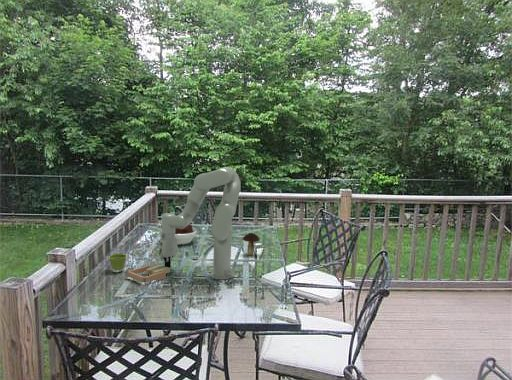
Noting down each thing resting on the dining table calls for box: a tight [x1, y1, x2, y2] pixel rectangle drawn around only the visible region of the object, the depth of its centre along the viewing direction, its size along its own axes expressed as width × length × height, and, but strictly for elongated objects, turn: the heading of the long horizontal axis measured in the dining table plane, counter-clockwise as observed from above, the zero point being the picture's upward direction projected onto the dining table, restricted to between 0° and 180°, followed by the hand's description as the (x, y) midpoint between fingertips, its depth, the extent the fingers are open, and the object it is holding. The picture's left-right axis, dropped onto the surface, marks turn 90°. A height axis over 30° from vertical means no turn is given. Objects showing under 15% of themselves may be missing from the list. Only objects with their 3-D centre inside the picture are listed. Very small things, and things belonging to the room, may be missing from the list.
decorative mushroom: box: [242, 232, 260, 256], centre depth 265 cm, size 11×11×15 cm
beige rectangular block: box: [146, 264, 172, 275], centre depth 223 cm, size 8×11×4 cm
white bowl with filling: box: [159, 223, 198, 246], centre depth 287 cm, size 25×25×15 cm
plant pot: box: [108, 253, 128, 270], centre depth 225 cm, size 9×9×9 cm
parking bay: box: [125, 264, 167, 282], centre depth 216 cm, size 14×14×4 cm
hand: (167, 267), depth 228 cm, fingers closed
